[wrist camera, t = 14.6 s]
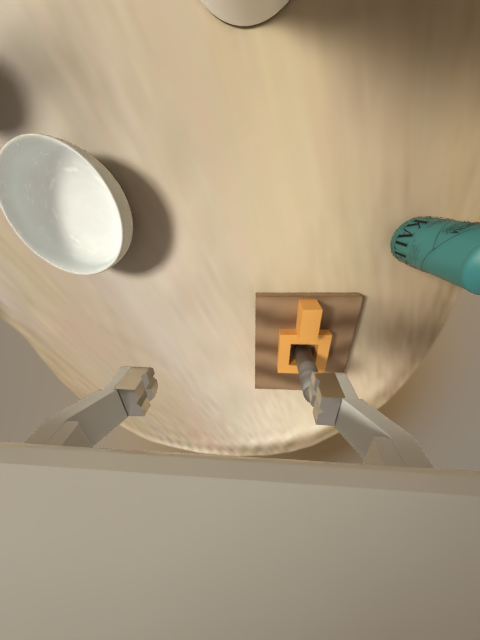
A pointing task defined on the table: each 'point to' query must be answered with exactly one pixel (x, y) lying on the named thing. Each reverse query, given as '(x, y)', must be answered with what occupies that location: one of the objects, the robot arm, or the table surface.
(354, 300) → the keeper board
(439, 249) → the beverage bottle
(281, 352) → the loop fitting
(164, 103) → the table surface
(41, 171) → the cereal bowl
